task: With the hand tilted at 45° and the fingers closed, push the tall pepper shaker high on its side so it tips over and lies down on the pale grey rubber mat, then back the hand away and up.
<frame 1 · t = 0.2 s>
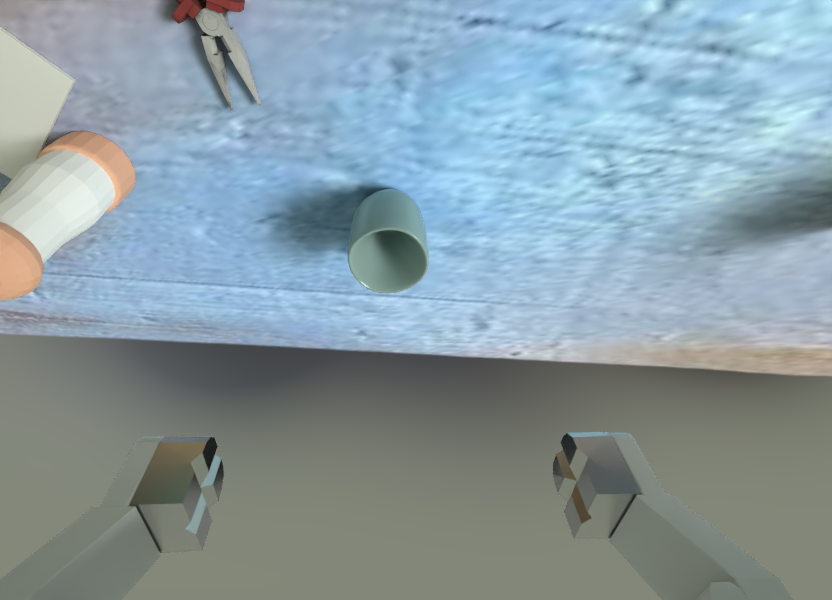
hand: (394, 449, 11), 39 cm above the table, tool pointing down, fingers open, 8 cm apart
cup: (389, 209, 51), on the table
pepper shaker: (97, 165, 46), on the table
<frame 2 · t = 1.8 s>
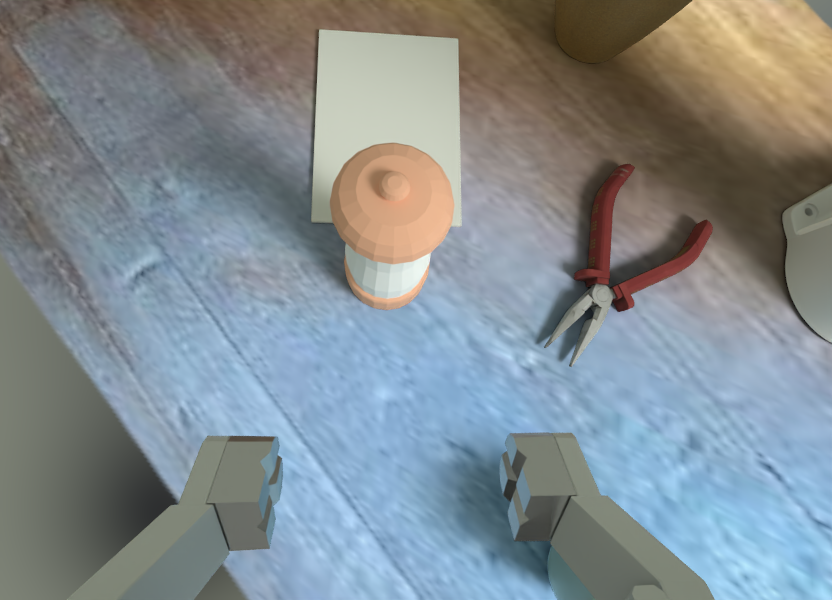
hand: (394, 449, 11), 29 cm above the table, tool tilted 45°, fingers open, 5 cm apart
pliers: (601, 257, 44), on the table
cup: (578, 556, 39), on the table
pepper shaker: (386, 271, 42), on the table
mat: (388, 127, 44), on the table
plant pot: (584, 34, 48), on the table
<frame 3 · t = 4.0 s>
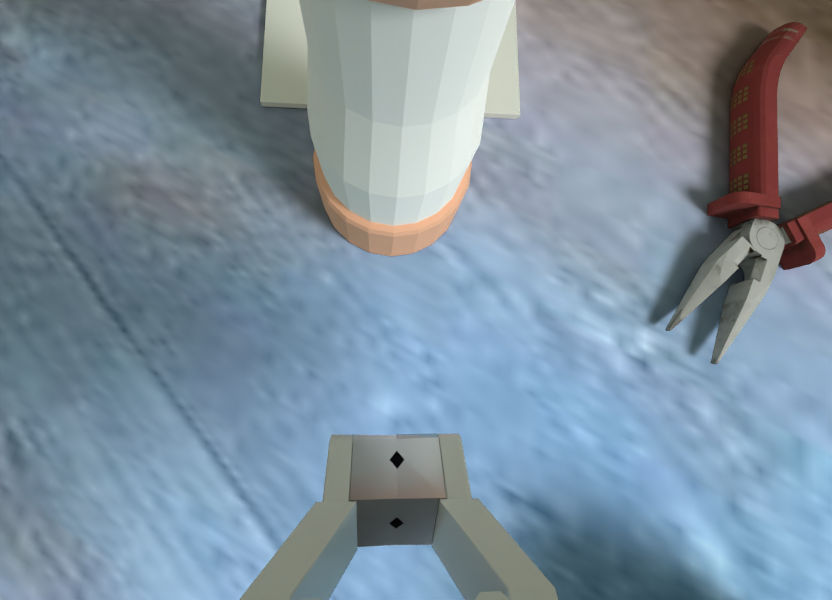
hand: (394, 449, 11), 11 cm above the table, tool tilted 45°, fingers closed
pliers: (746, 182, 27), on the table
pepper shaker: (391, 191, 24), on the table
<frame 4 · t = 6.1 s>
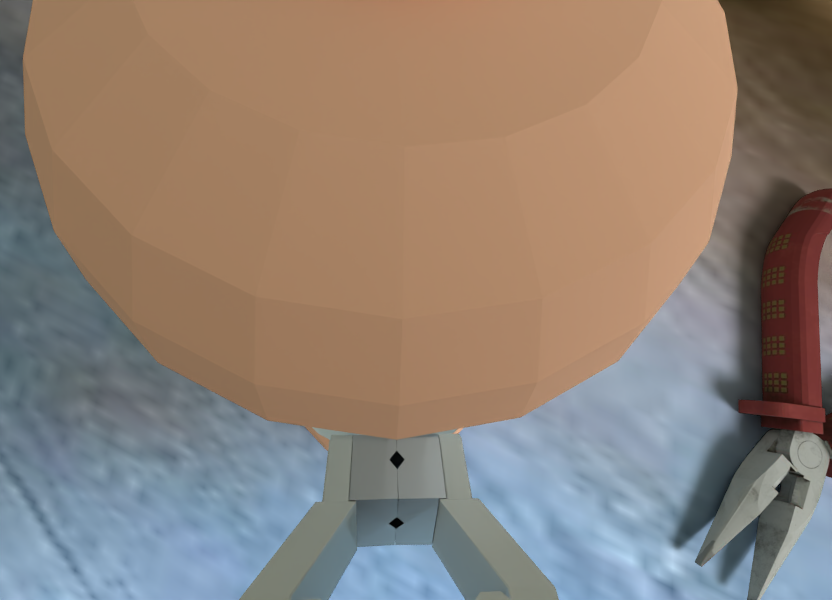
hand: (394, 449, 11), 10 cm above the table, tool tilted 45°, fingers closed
pliers: (779, 364, 24), on the table
pepper shaker: (386, 385, 21), point 1 cm above the table
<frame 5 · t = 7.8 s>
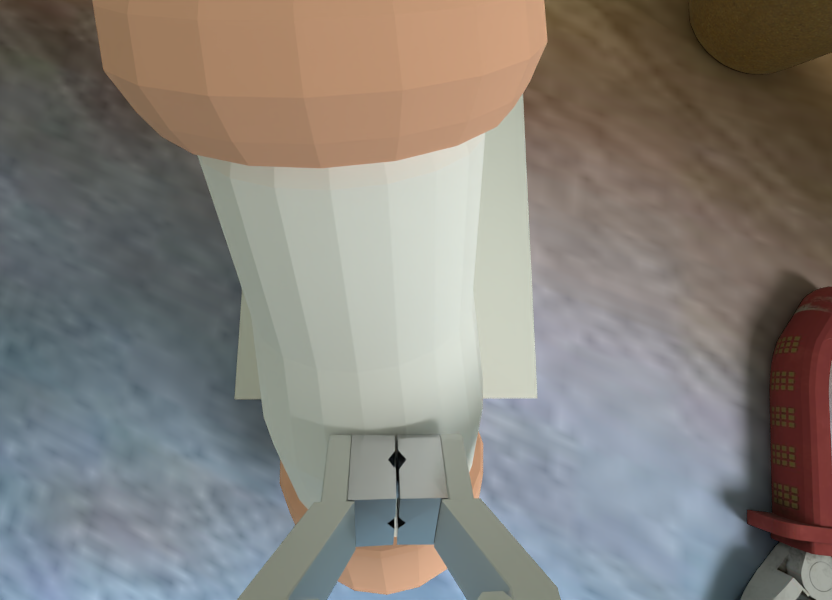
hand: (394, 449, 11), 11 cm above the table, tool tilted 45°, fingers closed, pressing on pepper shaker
pliers: (789, 466, 23), on the table
pepper shaker: (387, 494, 18), point 2 cm above the table, touching gripper
mat: (391, 198, 23), on the table
plant pot: (739, 23, 27), on the table
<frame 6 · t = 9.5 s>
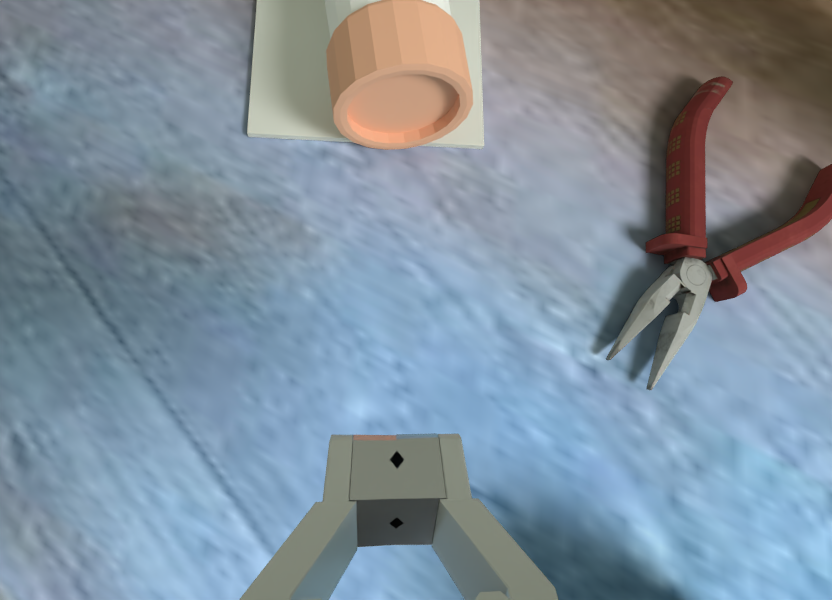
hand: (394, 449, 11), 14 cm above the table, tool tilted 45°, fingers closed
pliers: (682, 220, 29), on the table
pepper shaker: (404, 117, 23), point 4 cm above the table, touching mat
mat: (371, 0, 29), on the table
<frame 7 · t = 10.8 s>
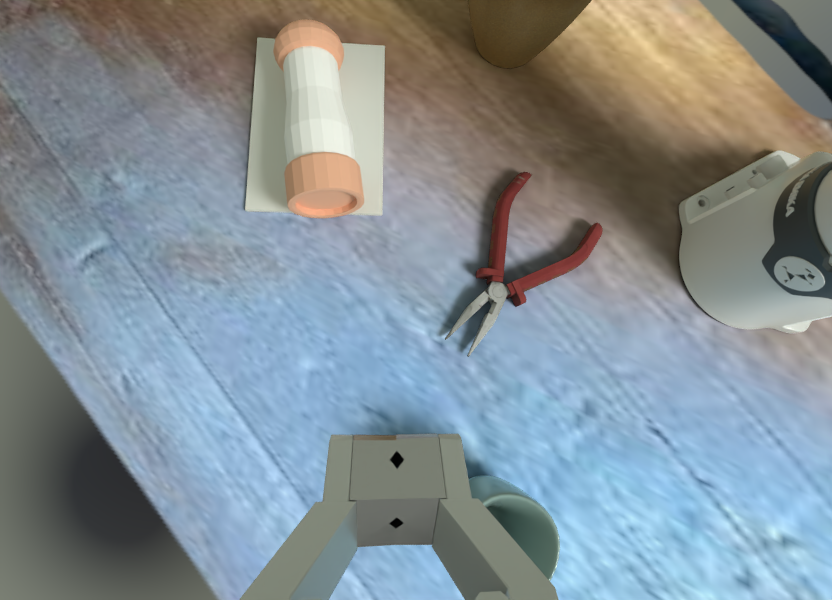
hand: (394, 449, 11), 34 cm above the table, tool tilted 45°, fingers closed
pliers: (503, 257, 49), on the table
cup: (479, 509, 44), on the table
pepper shaker: (327, 206, 43), point 4 cm above the table, touching mat
mat: (318, 125, 49), on the table
plant pot: (502, 42, 53), on the table
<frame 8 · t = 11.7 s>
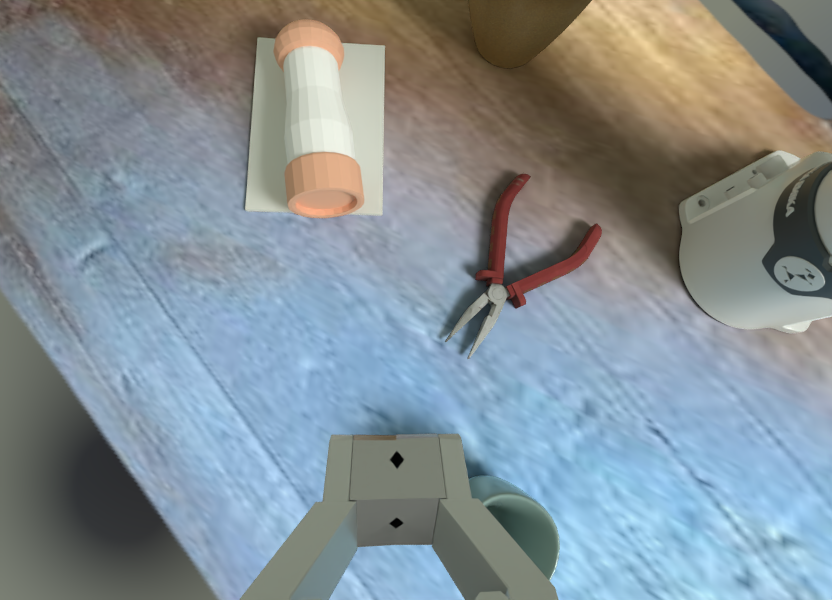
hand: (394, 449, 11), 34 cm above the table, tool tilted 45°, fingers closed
pliers: (502, 259, 49), on the table
cup: (479, 509, 44), on the table
pepper shaker: (327, 206, 43), point 4 cm above the table, touching mat
mat: (318, 125, 49), on the table
plant pot: (502, 42, 53), on the table
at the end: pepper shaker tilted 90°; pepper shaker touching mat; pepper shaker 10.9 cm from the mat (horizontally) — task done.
